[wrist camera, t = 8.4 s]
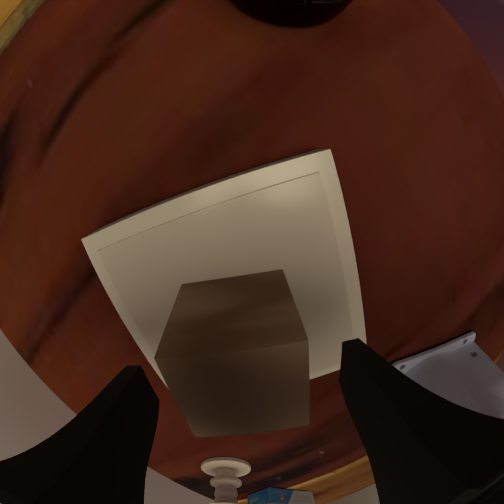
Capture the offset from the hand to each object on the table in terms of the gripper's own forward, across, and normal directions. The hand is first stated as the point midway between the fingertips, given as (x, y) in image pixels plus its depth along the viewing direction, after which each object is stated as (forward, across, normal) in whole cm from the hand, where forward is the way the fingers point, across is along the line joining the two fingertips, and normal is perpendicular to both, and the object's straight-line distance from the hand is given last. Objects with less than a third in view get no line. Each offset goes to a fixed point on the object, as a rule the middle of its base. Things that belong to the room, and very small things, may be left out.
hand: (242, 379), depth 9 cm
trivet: (+6, 0, 0) cm, 6 cm away
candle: (+7, +5, +21) cm, 23 cm away
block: (+4, 0, 0) cm, 4 cm away
